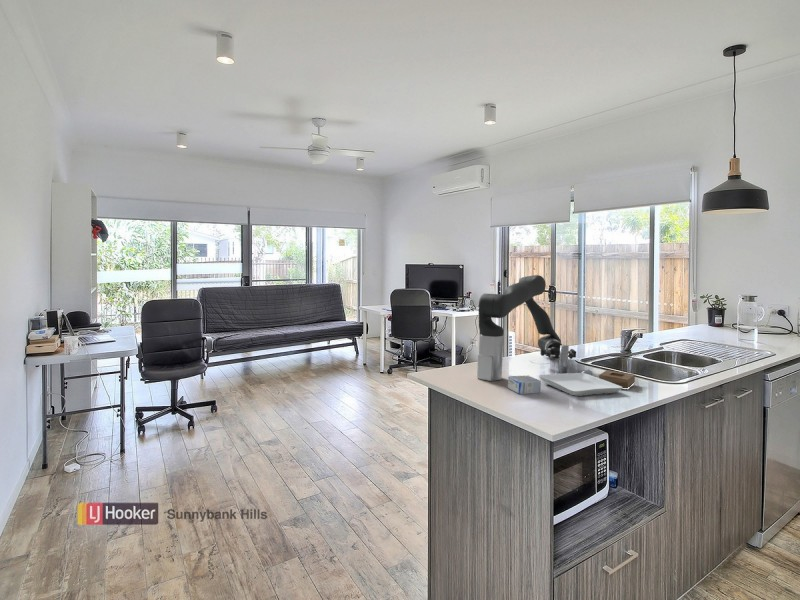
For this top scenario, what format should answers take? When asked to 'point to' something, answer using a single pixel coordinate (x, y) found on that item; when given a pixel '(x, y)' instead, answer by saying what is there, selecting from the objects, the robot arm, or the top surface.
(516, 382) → the medicine box
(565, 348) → the tall pin
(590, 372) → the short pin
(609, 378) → the hole block
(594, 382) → the salad plate
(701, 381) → the top surface
